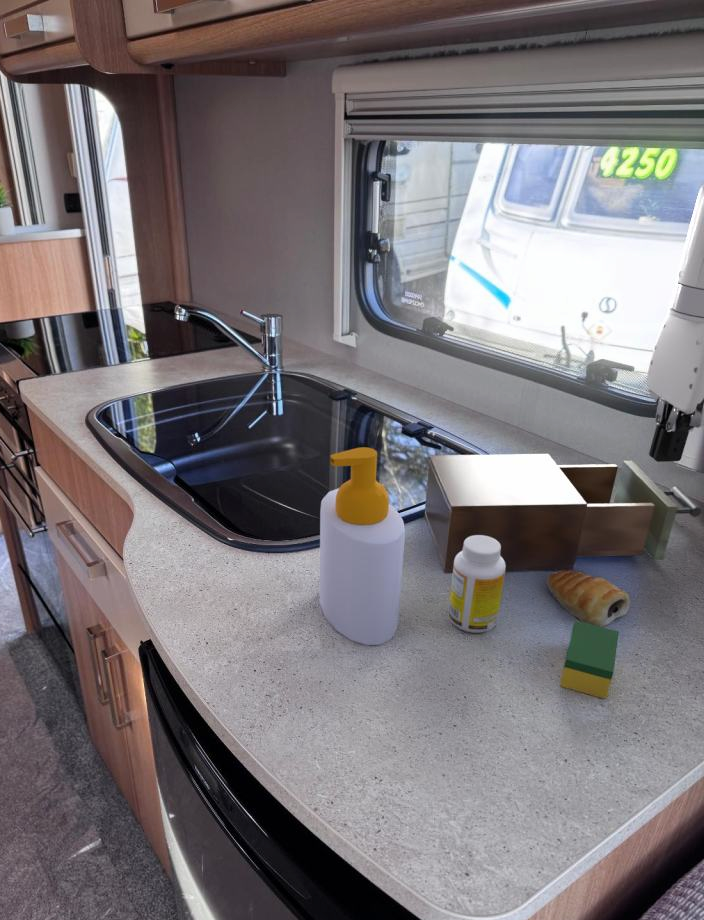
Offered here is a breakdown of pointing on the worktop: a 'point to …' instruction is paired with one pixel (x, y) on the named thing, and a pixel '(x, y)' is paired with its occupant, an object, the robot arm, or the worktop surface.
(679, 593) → the worktop surface
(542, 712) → the worktop surface
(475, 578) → the supplement bottle
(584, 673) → the sponge
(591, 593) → the pastry
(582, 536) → the drawer
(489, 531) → the cabinet
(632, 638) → the worktop surface
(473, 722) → the worktop surface
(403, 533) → the soap bottle
